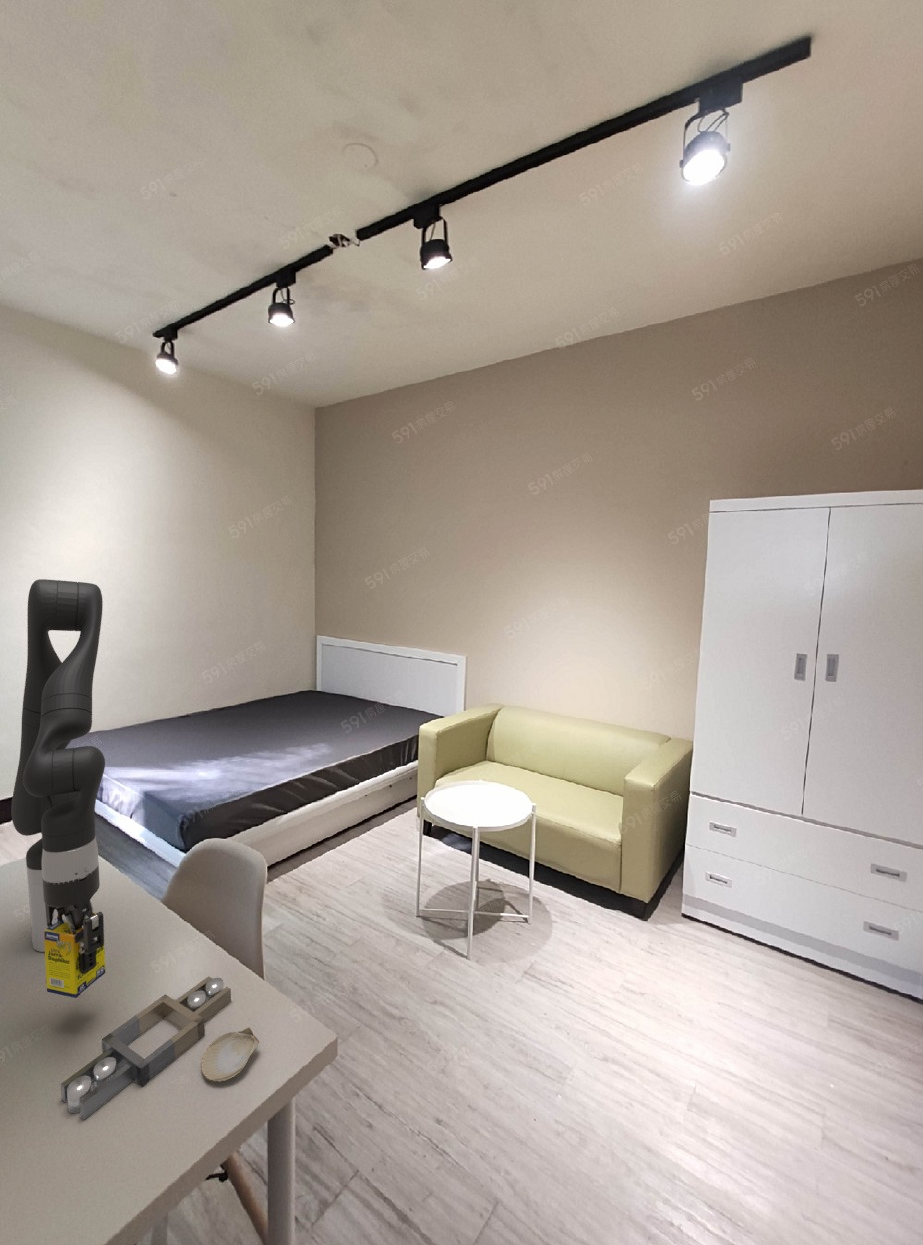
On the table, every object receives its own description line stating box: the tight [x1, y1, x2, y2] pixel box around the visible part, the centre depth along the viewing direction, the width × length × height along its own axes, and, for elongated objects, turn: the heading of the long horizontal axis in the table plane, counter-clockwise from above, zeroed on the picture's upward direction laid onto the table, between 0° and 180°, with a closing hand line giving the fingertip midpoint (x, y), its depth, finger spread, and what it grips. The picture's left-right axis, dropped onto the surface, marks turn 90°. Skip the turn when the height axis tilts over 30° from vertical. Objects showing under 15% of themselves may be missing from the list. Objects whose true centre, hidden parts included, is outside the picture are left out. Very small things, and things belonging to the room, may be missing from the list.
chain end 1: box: [60, 1015, 176, 1121], centre depth 83 cm, size 10×12×3 cm
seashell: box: [200, 1027, 260, 1083], centre depth 85 cm, size 8×3×8 cm
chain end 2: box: [134, 976, 232, 1061], centre depth 93 cm, size 10×12×3 cm
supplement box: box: [44, 911, 106, 999], centre depth 91 cm, size 6×6×11 cm
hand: (76, 961), depth 92 cm, fingers closed on supplement box, 7 cm apart
